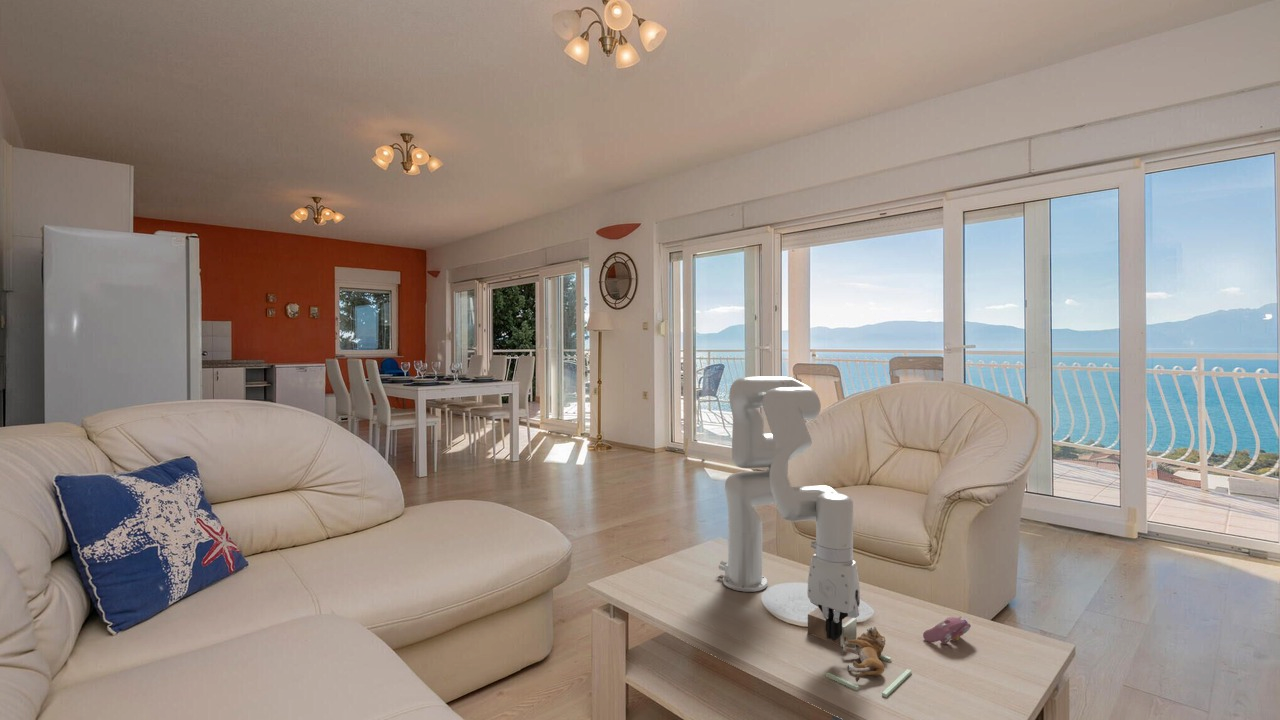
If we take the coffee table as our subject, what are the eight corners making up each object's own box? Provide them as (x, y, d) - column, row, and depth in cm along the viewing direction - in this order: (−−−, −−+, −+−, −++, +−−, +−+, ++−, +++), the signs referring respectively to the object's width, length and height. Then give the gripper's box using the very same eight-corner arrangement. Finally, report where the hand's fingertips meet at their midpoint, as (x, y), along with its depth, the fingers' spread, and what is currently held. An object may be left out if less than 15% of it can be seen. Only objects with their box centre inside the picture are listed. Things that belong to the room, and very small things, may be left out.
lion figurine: (843, 617, 127) (885, 625, 126) (838, 636, 129) (880, 644, 128) (856, 670, 114) (903, 680, 112) (850, 691, 115) (897, 701, 114)
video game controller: (935, 654, 129) (948, 632, 126) (919, 636, 133) (931, 615, 130) (964, 644, 133) (978, 623, 130) (948, 628, 137) (961, 607, 134)
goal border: (826, 676, 117) (826, 673, 117) (861, 649, 128) (861, 646, 128) (882, 701, 109) (882, 698, 109) (915, 669, 120) (915, 666, 120)
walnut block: (807, 613, 135) (844, 627, 129) (820, 606, 139) (856, 618, 133) (807, 633, 135) (843, 647, 129) (820, 624, 140) (856, 638, 133)
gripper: (794, 547, 127) (793, 631, 127) (859, 566, 116) (859, 657, 116) (811, 540, 132) (811, 620, 132) (876, 557, 121) (875, 644, 121)
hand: (833, 637), depth 124 cm, fingers closed
